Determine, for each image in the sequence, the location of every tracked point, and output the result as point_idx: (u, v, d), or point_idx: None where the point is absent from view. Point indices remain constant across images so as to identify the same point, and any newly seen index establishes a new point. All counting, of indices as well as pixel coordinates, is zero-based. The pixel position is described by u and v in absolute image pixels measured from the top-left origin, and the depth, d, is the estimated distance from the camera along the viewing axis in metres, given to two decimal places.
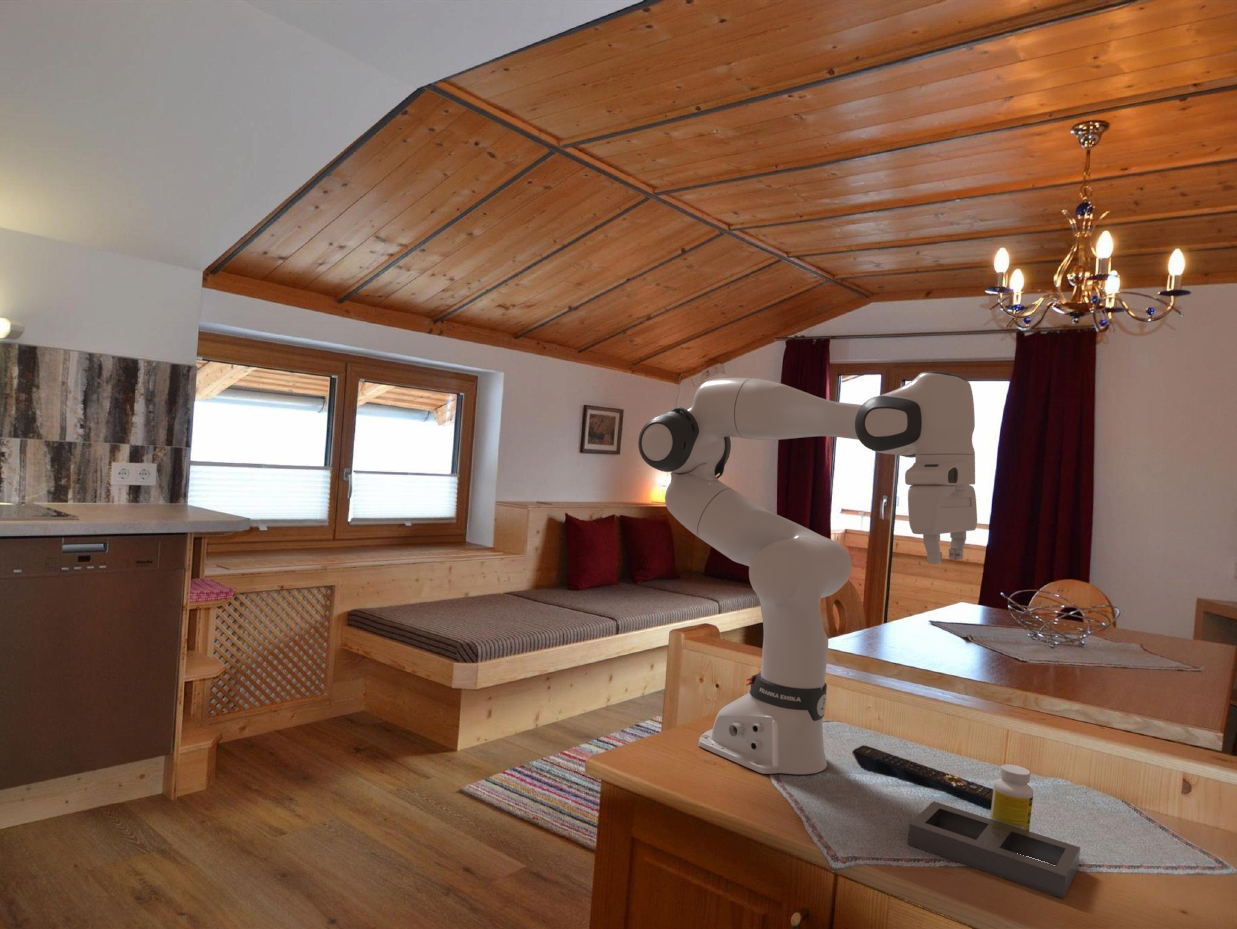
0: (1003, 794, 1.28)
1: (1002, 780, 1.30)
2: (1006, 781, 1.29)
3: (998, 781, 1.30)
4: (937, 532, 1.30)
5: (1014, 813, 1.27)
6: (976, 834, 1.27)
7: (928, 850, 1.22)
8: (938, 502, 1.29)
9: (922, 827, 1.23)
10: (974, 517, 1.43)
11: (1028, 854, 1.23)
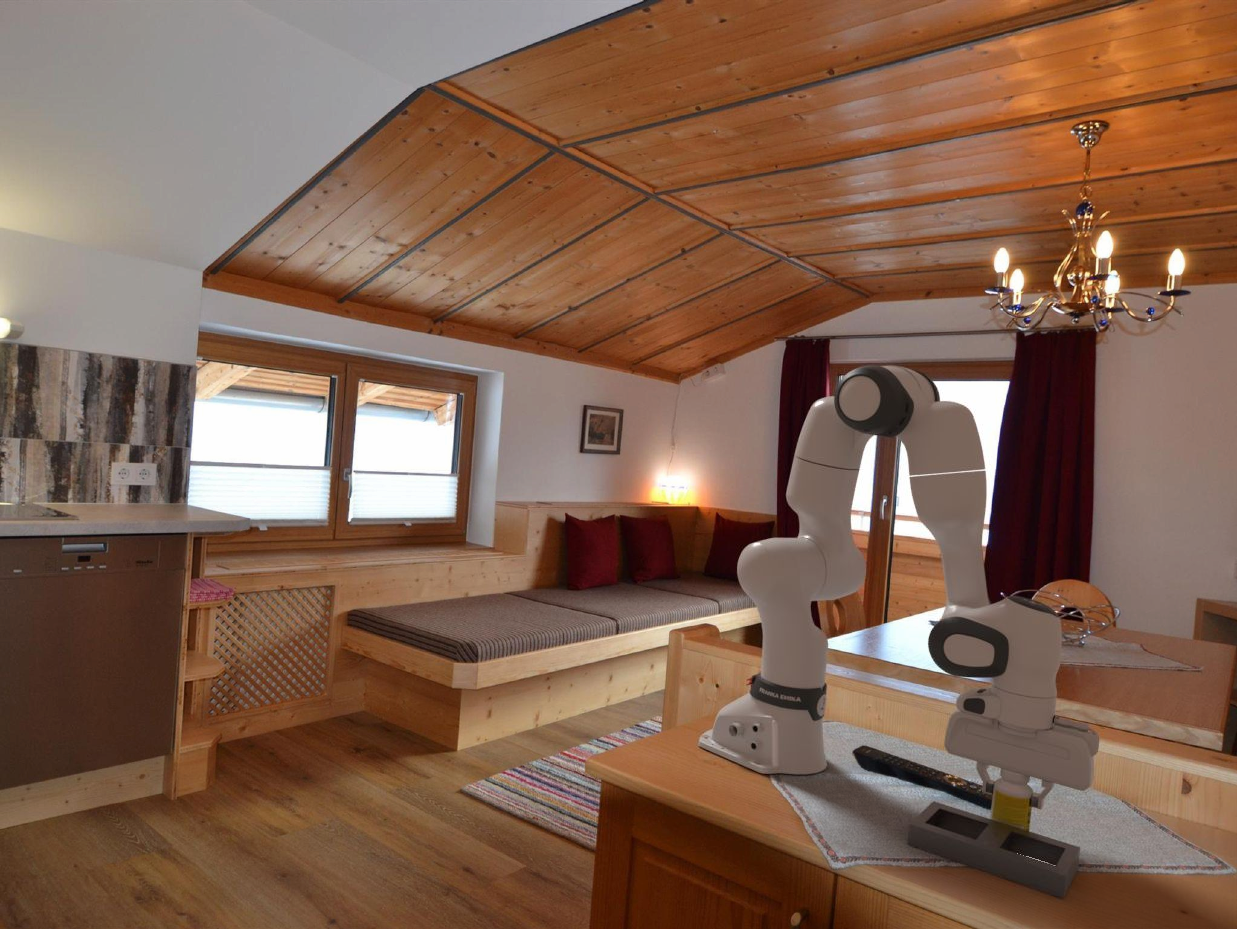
0: (1003, 794, 1.28)
1: (1002, 780, 1.30)
2: (1006, 781, 1.29)
3: (998, 781, 1.30)
4: (955, 754, 1.33)
5: (1014, 813, 1.27)
6: (976, 834, 1.27)
7: (928, 850, 1.22)
8: (950, 724, 1.33)
9: (922, 827, 1.23)
10: (1076, 774, 1.23)
11: (1028, 854, 1.23)
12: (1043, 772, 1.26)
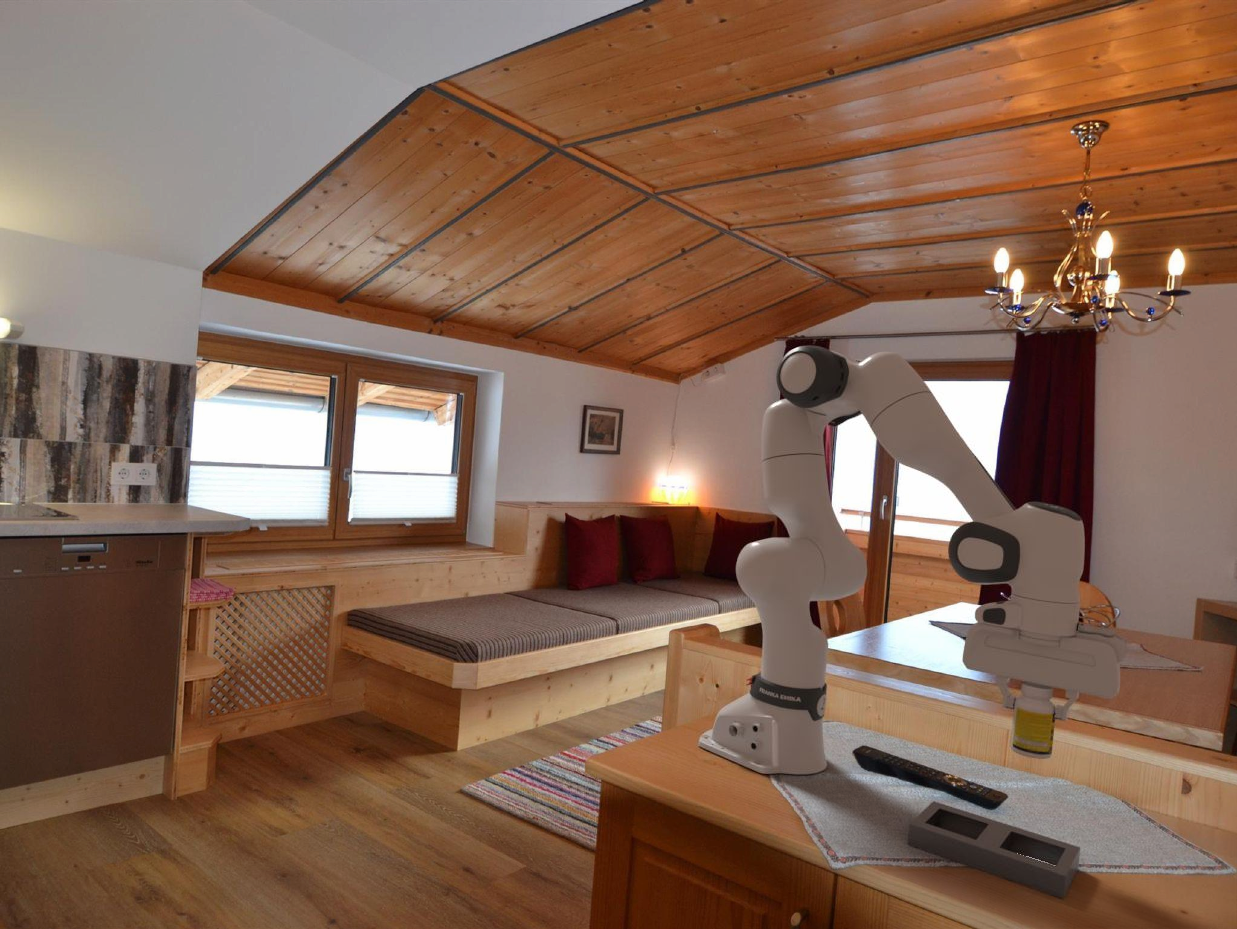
0: (1025, 710, 1.23)
1: (1023, 697, 1.25)
2: (1028, 697, 1.24)
3: (1019, 698, 1.25)
4: (974, 669, 1.28)
5: (1037, 729, 1.22)
6: (976, 834, 1.27)
7: (928, 850, 1.22)
8: (969, 637, 1.28)
9: (922, 827, 1.23)
10: (1102, 681, 1.18)
11: (1028, 854, 1.23)
12: (1067, 681, 1.21)
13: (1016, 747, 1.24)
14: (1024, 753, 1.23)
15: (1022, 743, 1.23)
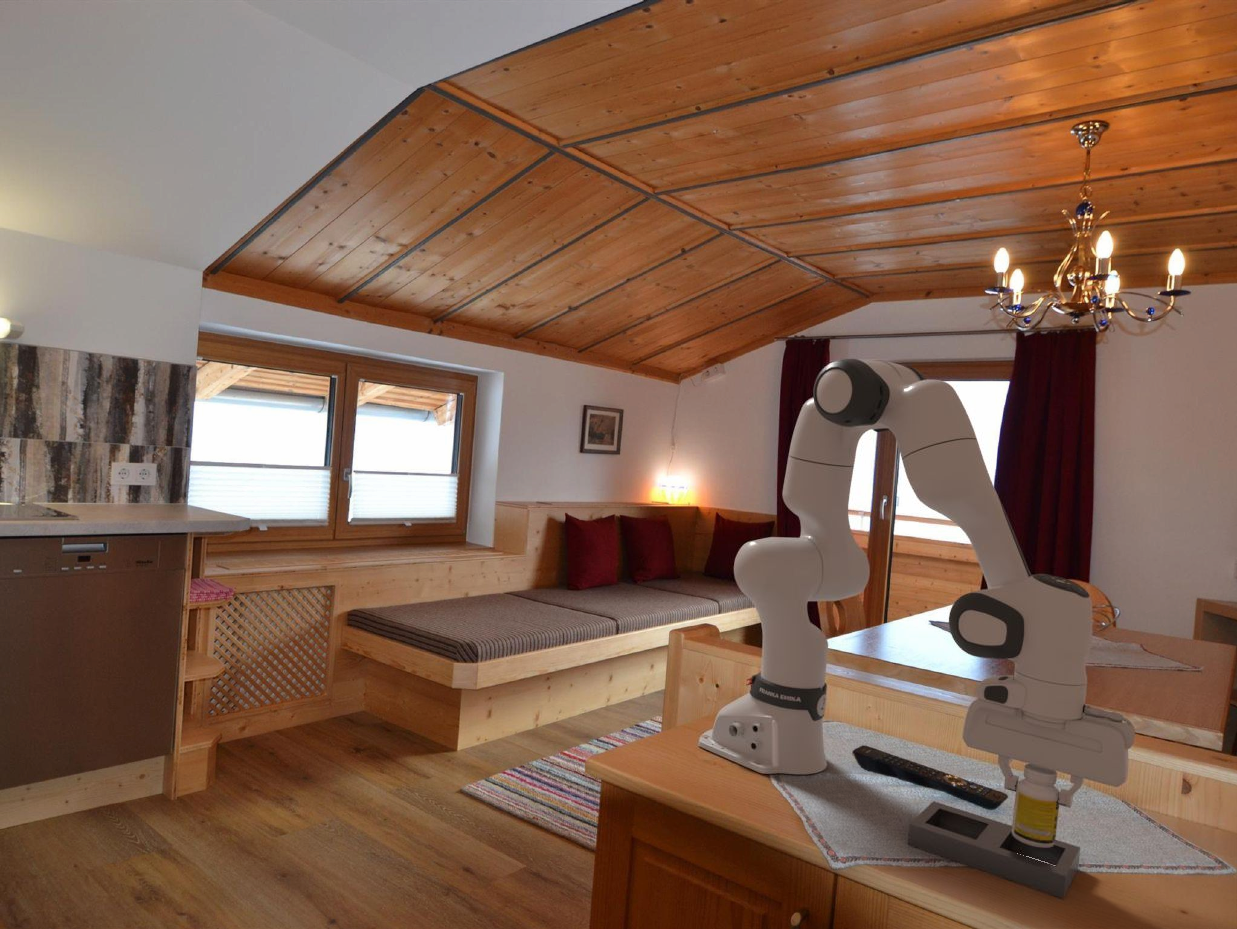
0: (1028, 796, 1.17)
1: (1026, 781, 1.19)
2: (1031, 782, 1.18)
3: (1021, 782, 1.19)
4: (975, 747, 1.22)
5: (1040, 817, 1.16)
6: (976, 834, 1.27)
7: (928, 850, 1.22)
8: (969, 714, 1.22)
9: (922, 827, 1.23)
10: (1109, 769, 1.12)
11: (1028, 854, 1.23)
12: (1072, 766, 1.15)
13: (1018, 834, 1.18)
14: (1025, 841, 1.17)
15: (1024, 831, 1.17)
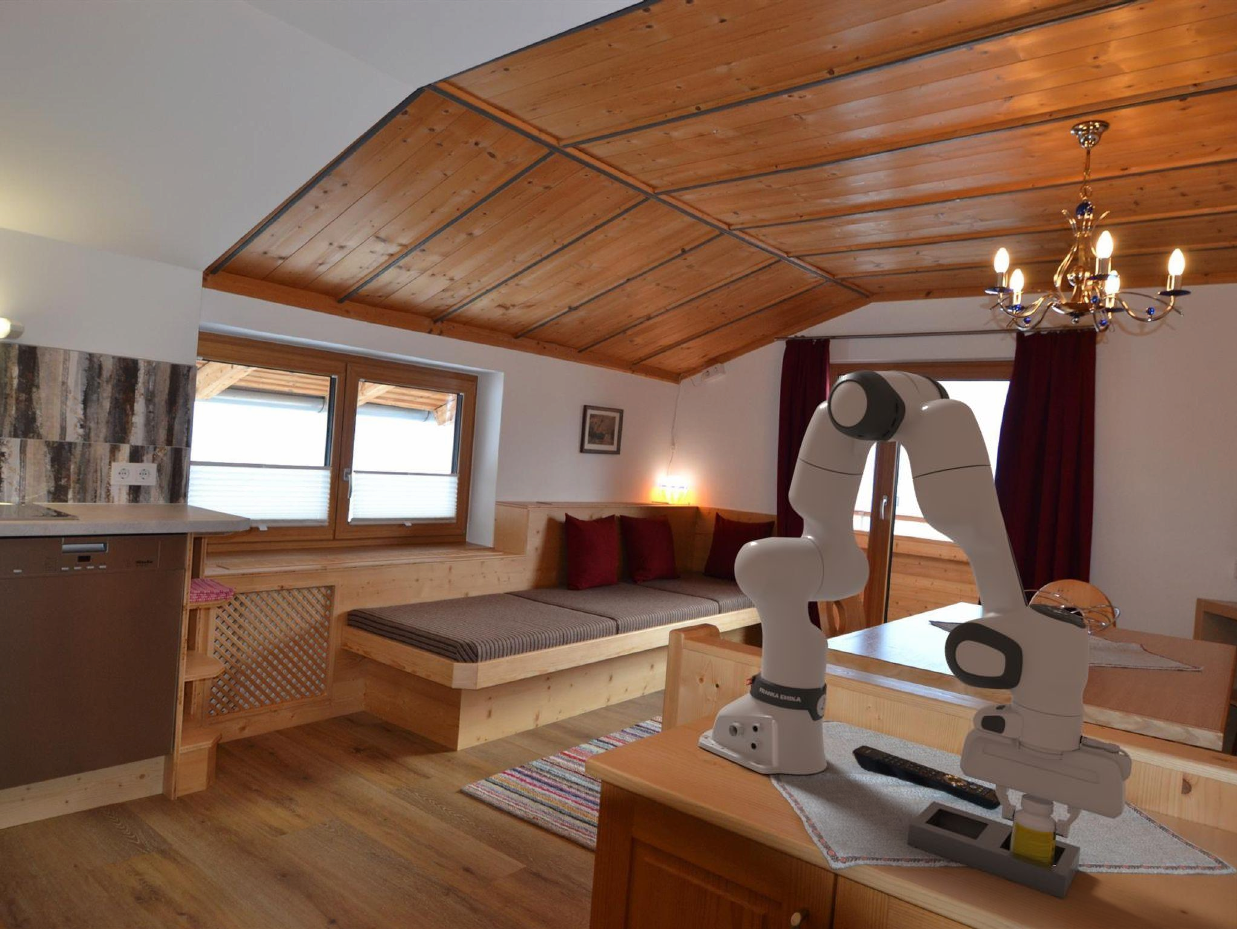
0: (1025, 827, 1.17)
1: (1023, 811, 1.19)
2: (1028, 813, 1.18)
3: (1018, 812, 1.19)
4: (972, 776, 1.22)
5: (1037, 848, 1.16)
6: (976, 834, 1.27)
7: (928, 850, 1.22)
8: (967, 743, 1.22)
9: (922, 827, 1.23)
10: (1106, 801, 1.12)
11: None
12: (1069, 797, 1.15)
13: None
14: None
15: None
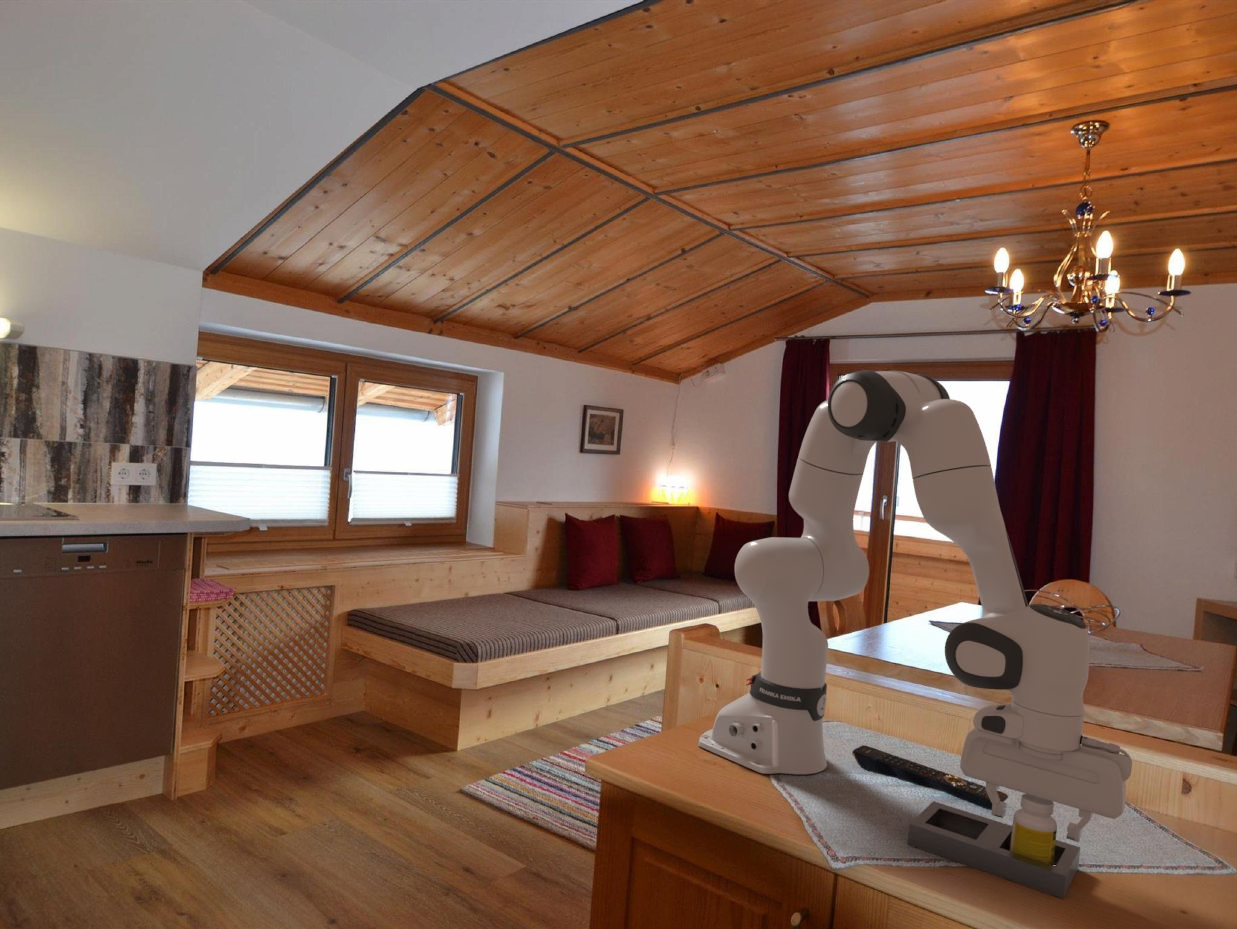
0: (1025, 827, 1.17)
1: (1023, 811, 1.19)
2: (1028, 813, 1.18)
3: (1018, 812, 1.19)
4: (973, 776, 1.22)
5: (1037, 848, 1.16)
6: (976, 834, 1.27)
7: (928, 850, 1.22)
8: (967, 744, 1.22)
9: (922, 827, 1.23)
10: (1106, 801, 1.12)
11: None
12: (1070, 798, 1.15)
13: None
14: None
15: None
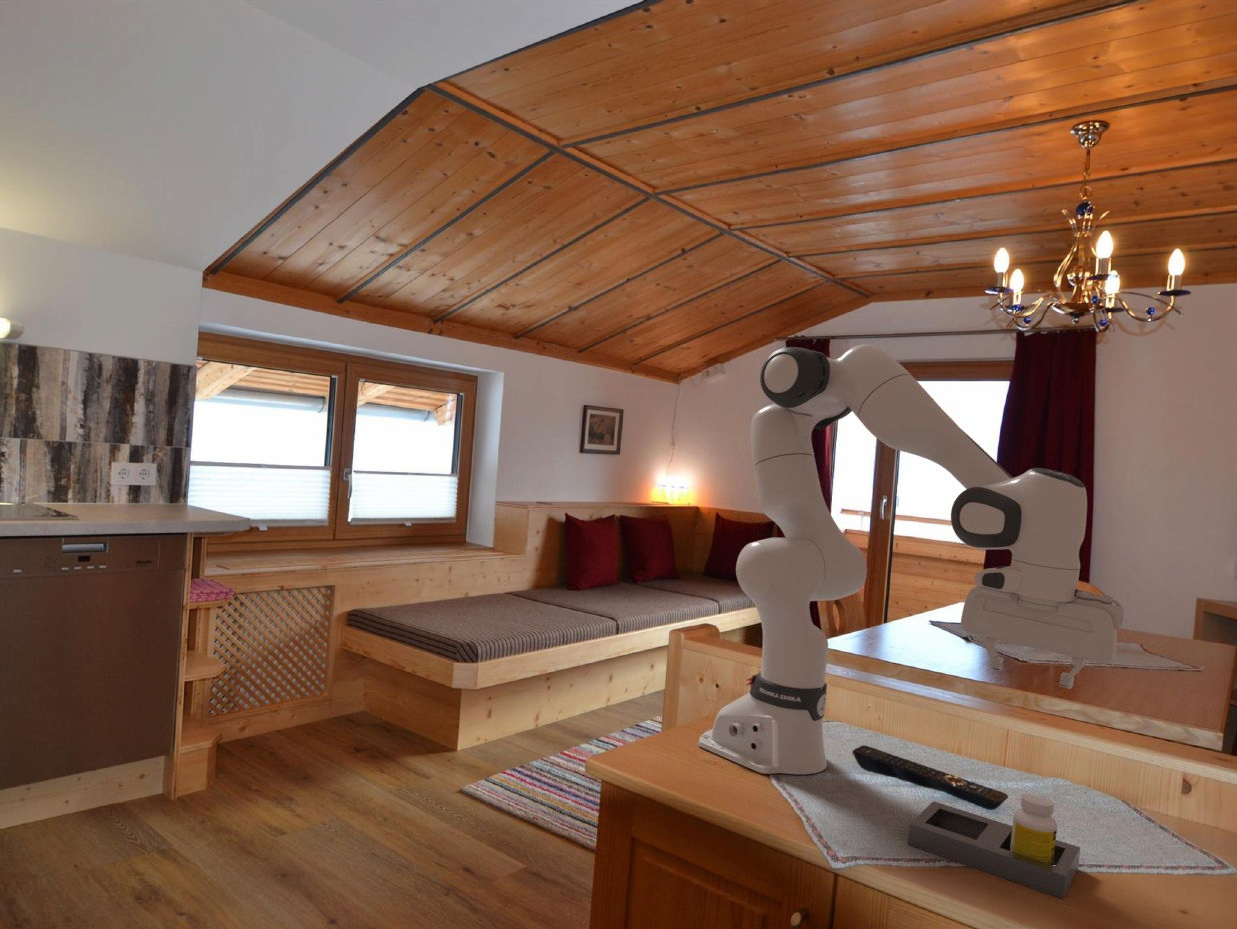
0: (1025, 827, 1.17)
1: (1023, 811, 1.19)
2: (1028, 813, 1.18)
3: (1018, 812, 1.19)
4: (972, 632, 1.29)
5: (1037, 848, 1.16)
6: (976, 834, 1.27)
7: (928, 850, 1.22)
8: (968, 601, 1.29)
9: (922, 827, 1.23)
10: (1098, 647, 1.19)
11: None
12: (1063, 646, 1.22)
13: None
14: None
15: None
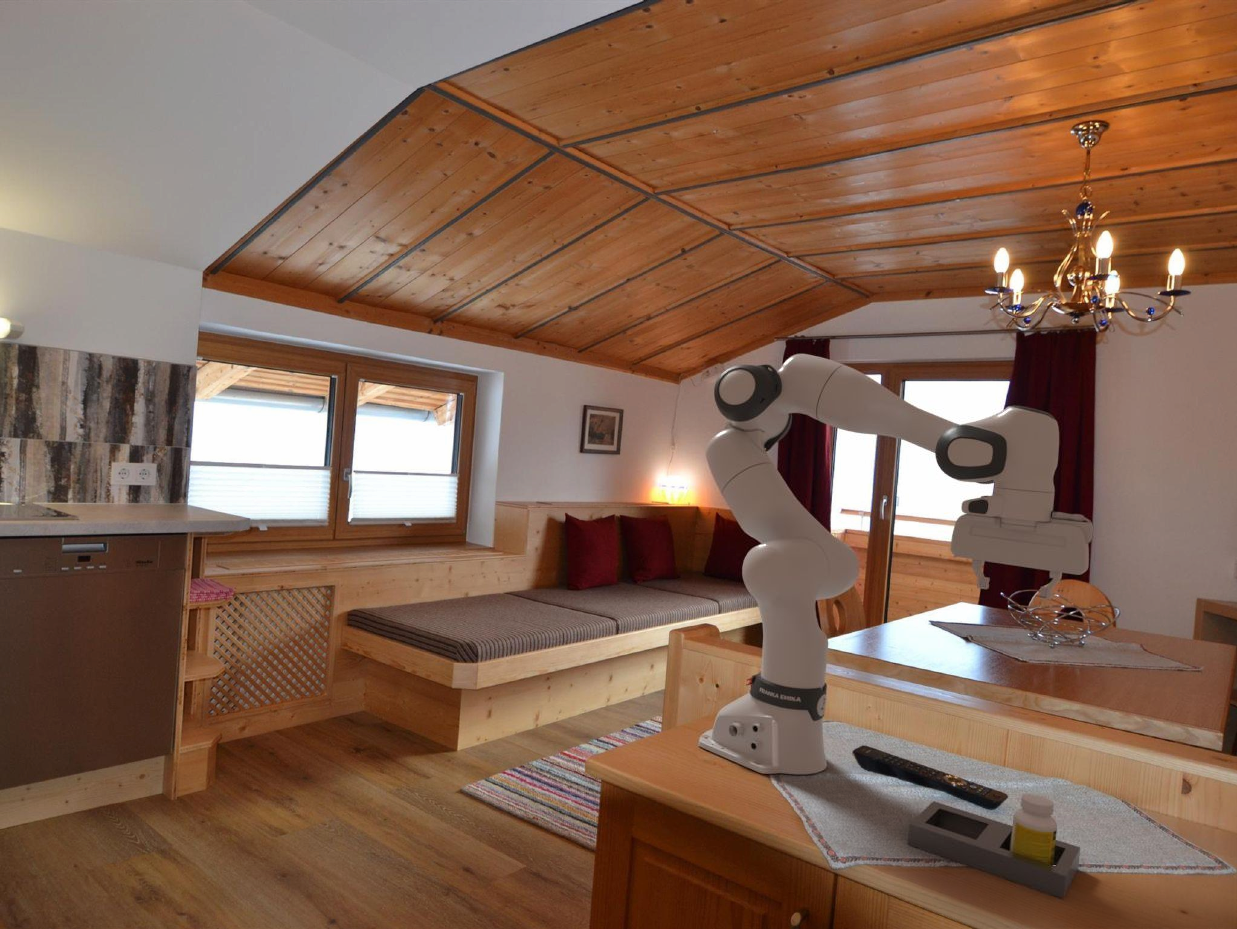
0: (1025, 827, 1.17)
1: (1023, 811, 1.19)
2: (1028, 813, 1.18)
3: (1018, 812, 1.19)
4: (961, 555, 1.44)
5: (1037, 848, 1.16)
6: (976, 834, 1.27)
7: (928, 850, 1.22)
8: (956, 528, 1.44)
9: (922, 827, 1.23)
10: (1072, 560, 1.34)
11: None
12: (1042, 561, 1.37)
13: None
14: None
15: None
